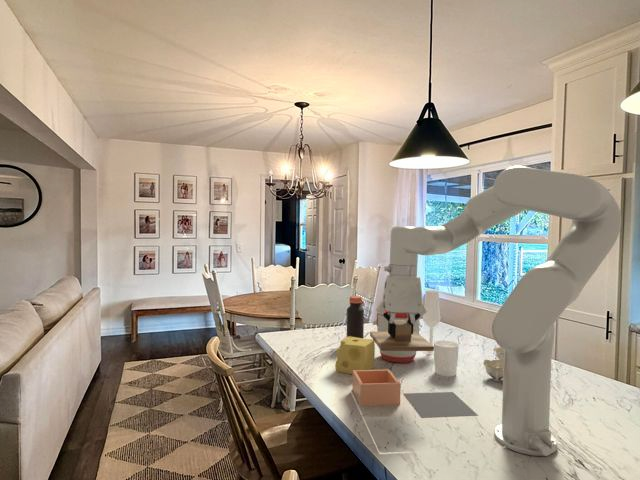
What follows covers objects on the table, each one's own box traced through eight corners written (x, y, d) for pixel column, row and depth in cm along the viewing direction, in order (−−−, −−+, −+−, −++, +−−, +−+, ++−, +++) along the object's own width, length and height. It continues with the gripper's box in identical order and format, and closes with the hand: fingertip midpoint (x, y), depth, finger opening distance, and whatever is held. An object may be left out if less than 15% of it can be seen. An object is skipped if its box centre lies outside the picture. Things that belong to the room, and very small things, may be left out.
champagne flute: (432, 356, 153) (434, 292, 153) (418, 351, 159) (419, 290, 158) (443, 352, 158) (444, 291, 157) (428, 348, 163) (430, 288, 162)
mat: (478, 416, 104) (478, 415, 104) (421, 418, 102) (421, 417, 102) (452, 392, 119) (452, 391, 119) (402, 394, 117) (402, 393, 117)
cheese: (335, 372, 135) (335, 342, 135) (348, 362, 145) (348, 334, 144) (364, 377, 130) (364, 346, 130) (375, 367, 140) (376, 338, 140)
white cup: (459, 379, 130) (460, 348, 130) (434, 376, 132) (434, 346, 131) (456, 370, 138) (457, 341, 138) (432, 368, 139) (433, 339, 139)
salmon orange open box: (400, 405, 110) (400, 383, 110) (360, 406, 109) (360, 384, 109) (388, 389, 121) (389, 369, 121) (352, 390, 120) (352, 370, 120)
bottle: (363, 344, 168) (364, 295, 167) (363, 348, 161) (364, 298, 161) (346, 343, 169) (347, 295, 168) (346, 348, 162) (346, 298, 161)
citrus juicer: (377, 349, 161) (378, 299, 160) (422, 355, 154) (423, 302, 154) (366, 361, 146) (367, 305, 146) (415, 368, 140) (416, 310, 139)
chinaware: (492, 363, 151) (489, 318, 152) (544, 366, 143) (539, 319, 144) (482, 388, 127) (478, 335, 127) (543, 394, 119) (538, 337, 119)
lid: (433, 351, 107) (434, 329, 107) (381, 350, 106) (382, 329, 105) (416, 335, 121) (417, 316, 120) (370, 335, 120) (370, 316, 119)
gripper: (376, 272, 108) (373, 340, 109) (437, 273, 109) (434, 340, 110) (370, 268, 115) (367, 332, 116) (427, 270, 117) (424, 333, 118)
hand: (400, 335), depth 113 cm, fingers closed on lid, 4 cm apart
